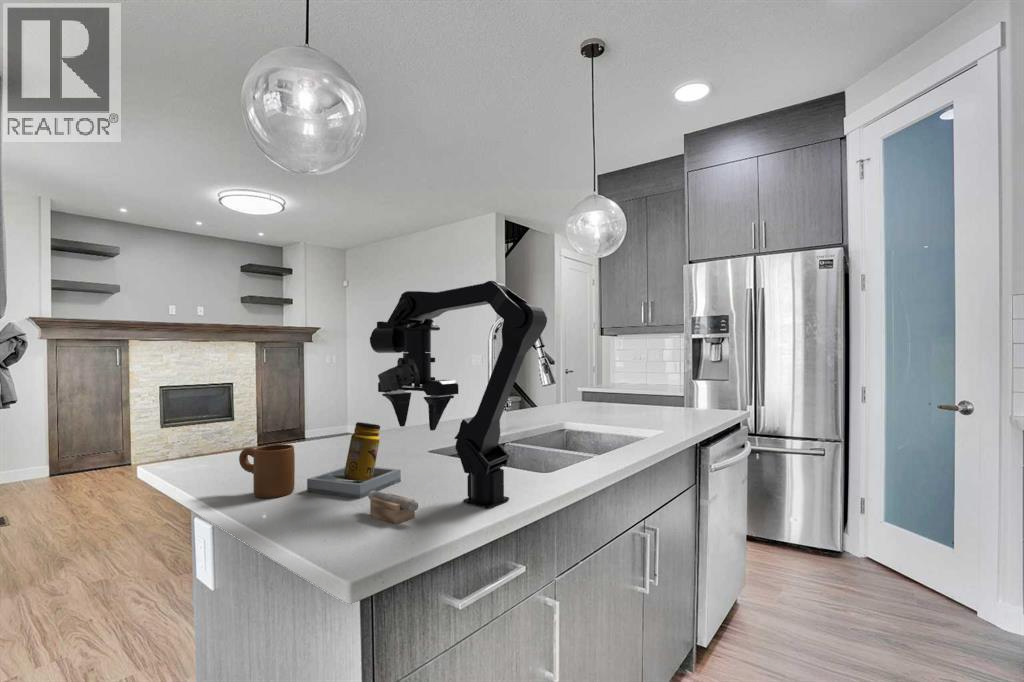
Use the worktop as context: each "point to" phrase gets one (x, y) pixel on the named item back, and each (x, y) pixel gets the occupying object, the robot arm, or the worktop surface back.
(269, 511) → the worktop surface
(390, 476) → the grey shallow square tray
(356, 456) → the condiment
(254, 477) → the mug
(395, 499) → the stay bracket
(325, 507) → the worktop surface
